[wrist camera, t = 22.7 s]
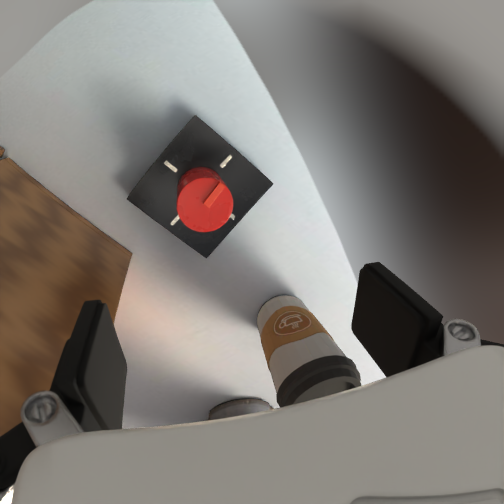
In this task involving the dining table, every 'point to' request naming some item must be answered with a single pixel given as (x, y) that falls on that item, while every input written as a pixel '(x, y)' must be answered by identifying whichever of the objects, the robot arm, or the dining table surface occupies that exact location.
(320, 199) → the dining table surface
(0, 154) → the cupboard door
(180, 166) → the valve panel
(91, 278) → the cupboard
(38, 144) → the dining table surface
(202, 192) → the valve knob
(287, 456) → the robot arm
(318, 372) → the coffee cup
